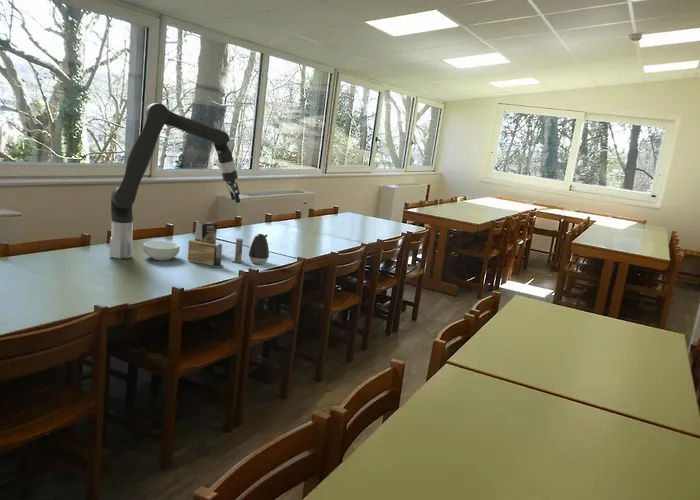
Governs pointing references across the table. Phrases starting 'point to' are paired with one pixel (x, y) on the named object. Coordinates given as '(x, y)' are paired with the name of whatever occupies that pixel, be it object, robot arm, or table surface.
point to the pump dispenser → (259, 249)
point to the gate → (201, 252)
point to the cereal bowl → (161, 249)
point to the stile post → (238, 251)
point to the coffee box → (206, 232)
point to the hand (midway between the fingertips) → (236, 201)
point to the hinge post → (218, 256)
